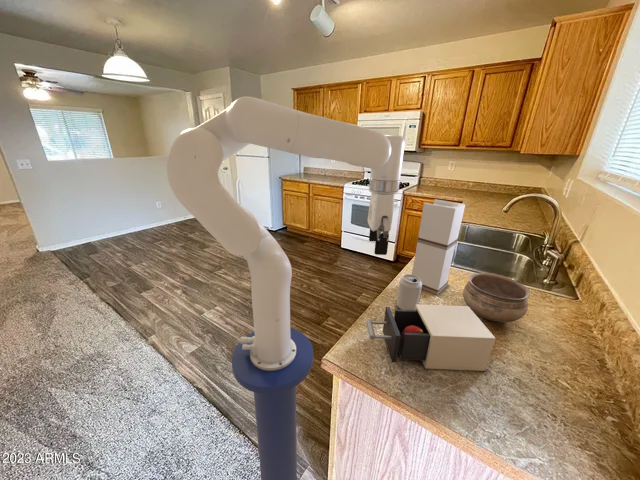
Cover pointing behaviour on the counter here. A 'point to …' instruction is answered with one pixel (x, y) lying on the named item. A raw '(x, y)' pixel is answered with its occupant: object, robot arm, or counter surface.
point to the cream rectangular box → (455, 338)
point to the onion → (412, 330)
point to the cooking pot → (496, 297)
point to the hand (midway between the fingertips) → (377, 247)
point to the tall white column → (437, 243)
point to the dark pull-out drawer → (393, 327)
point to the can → (409, 292)
